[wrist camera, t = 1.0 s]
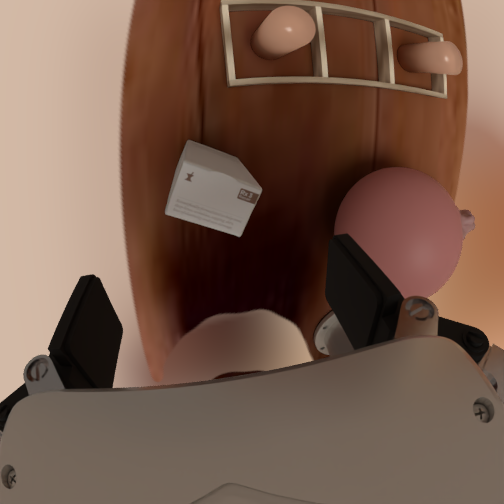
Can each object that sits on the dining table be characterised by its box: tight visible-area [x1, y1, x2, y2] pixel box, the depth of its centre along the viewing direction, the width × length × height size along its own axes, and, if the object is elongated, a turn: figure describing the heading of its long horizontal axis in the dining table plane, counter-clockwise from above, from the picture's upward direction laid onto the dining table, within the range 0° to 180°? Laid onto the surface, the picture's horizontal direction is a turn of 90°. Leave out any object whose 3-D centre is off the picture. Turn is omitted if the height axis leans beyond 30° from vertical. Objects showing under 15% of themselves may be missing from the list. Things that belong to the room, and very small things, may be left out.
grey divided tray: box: [220, 0, 463, 99], centre depth 21 cm, size 10×28×8 cm, turn 95°
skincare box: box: [165, 140, 262, 237], centre depth 24 cm, size 6×4×12 cm
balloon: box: [334, 167, 475, 299], centre depth 29 cm, size 15×20×15 cm
